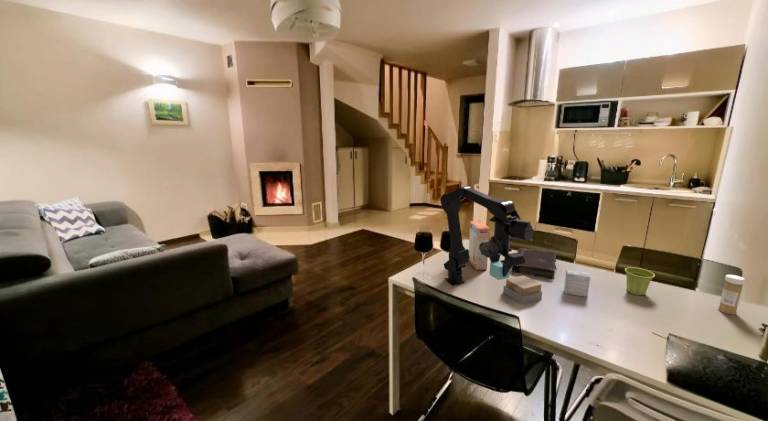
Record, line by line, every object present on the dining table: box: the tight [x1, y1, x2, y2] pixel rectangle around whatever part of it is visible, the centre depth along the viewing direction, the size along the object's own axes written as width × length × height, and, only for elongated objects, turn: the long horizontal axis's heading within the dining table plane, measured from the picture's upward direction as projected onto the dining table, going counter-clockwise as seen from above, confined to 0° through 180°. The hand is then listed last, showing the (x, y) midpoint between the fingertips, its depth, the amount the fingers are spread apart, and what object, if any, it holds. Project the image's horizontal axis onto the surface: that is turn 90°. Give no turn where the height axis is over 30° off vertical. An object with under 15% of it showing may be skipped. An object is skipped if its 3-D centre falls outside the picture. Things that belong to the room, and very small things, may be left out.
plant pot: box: [624, 267, 656, 296], centre depth 127 cm, size 9×9×9 cm
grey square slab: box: [502, 284, 543, 305], centre depth 127 cm, size 10×10×4 cm
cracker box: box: [468, 220, 491, 271], centre depth 156 cm, size 14×6×21 cm, turn 179°
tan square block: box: [505, 274, 542, 296], centre depth 126 cm, size 9×9×3 cm
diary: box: [511, 247, 558, 280], centre depth 155 cm, size 19×25×5 cm
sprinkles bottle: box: [717, 274, 746, 316], centre depth 112 cm, size 5×5×13 cm
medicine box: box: [563, 269, 591, 298], centre depth 127 cm, size 8×4×9 cm, turn 65°
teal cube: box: [489, 260, 510, 281], centre depth 121 cm, size 5×5×5 cm
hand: (499, 273), depth 121 cm, fingers closed on teal cube, 5 cm apart
